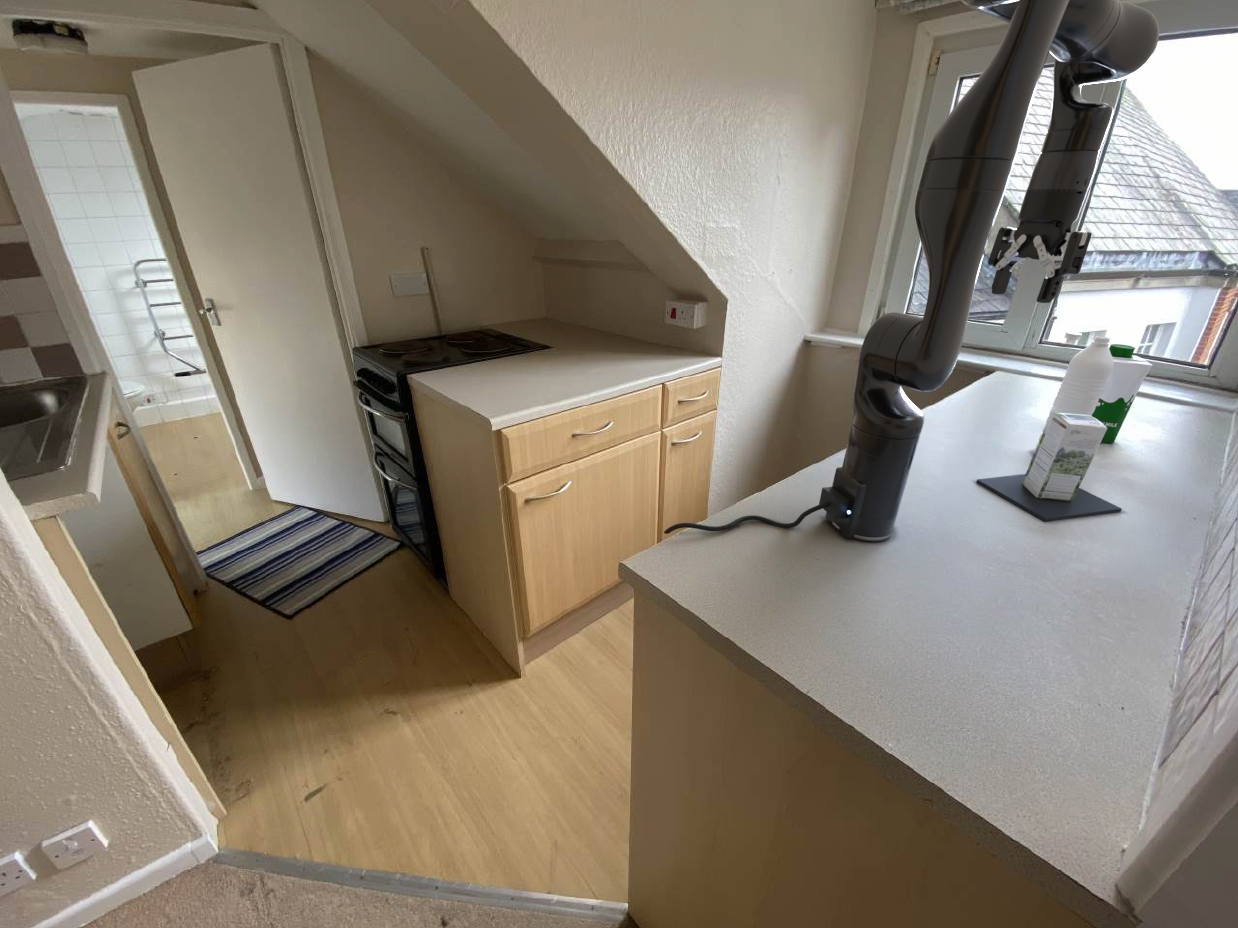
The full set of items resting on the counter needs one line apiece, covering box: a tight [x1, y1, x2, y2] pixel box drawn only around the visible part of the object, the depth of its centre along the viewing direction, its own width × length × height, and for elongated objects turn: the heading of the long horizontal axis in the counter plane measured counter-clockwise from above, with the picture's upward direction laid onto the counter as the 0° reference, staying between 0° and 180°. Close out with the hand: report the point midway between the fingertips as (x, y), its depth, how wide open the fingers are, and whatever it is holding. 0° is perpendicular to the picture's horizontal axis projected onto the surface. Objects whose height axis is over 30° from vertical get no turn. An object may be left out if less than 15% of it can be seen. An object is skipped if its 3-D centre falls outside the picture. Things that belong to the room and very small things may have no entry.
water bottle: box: [1033, 331, 1114, 454], centre depth 105 cm, size 9×6×25 cm
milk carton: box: [1092, 343, 1154, 444], centre depth 116 cm, size 9×9×20 cm
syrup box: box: [1022, 412, 1107, 501], centre depth 91 cm, size 6×6×14 cm
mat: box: [976, 473, 1123, 522], centre depth 95 cm, size 16×14×1 cm
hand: (1019, 298), depth 87 cm, fingers open, 8 cm apart
